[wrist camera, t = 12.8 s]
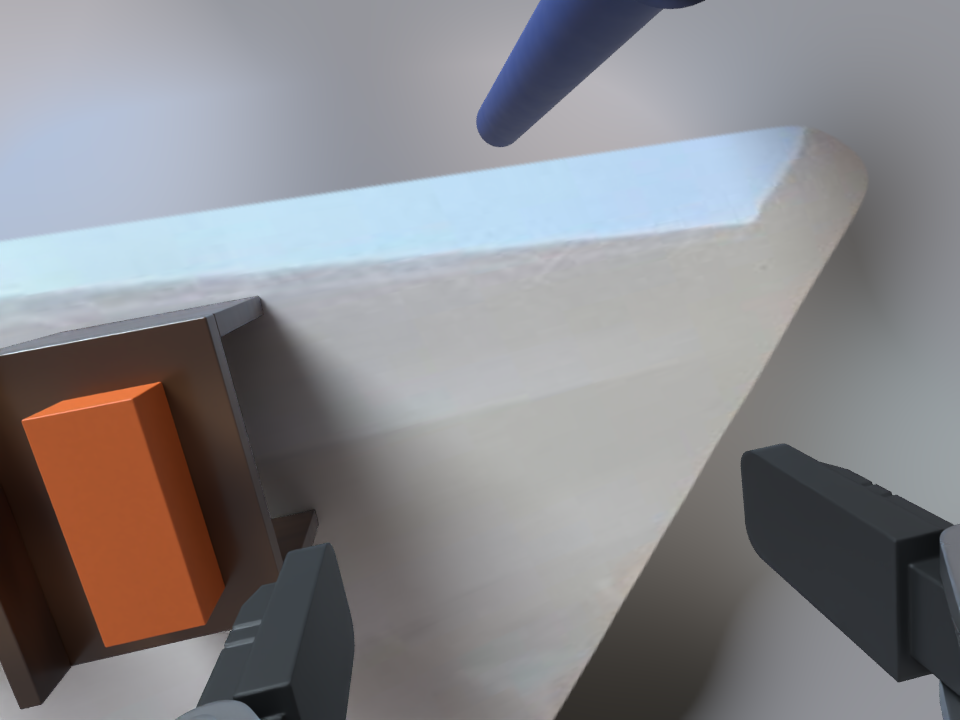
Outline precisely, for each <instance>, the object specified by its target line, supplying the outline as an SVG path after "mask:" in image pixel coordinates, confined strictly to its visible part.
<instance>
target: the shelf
mask: <svg viewBox="0 0 960 720" xmlns="http://www.w3.org/2000/svg"><path fill="white" fill-rule="evenodd" d="M263 314H264V313H263V309H262V305H261V302H260V298H259V296H255V297H250V298H244V299H239V300H233V301H228V302H222V303H217V304H212V305H206V306H201V307H195V308H190V309H184V310H179V311H174V312H168V313H163V314H157V315H152V316H146V317H141V318H136V319H130V320H125V321H119V322H114V323H109V324H103V325H98V326H92V327H87V328H81V329H76V330H71V331H65V332H60V333H56V334H53V335H49V336H45V337H42V338H38V339H34V340H31V341H27V342H23V343H20V344H16V345H12V346H9V347H5V348H1V349H0V662H1V665H2V667H3V669H4V672H5V674H6V676H7V679H8V681H9V684H10V686H11V688H12V691H13V693H14V696H15V698H16V700H17V703H18V705H19V707H20V709H25V708H29V707H34V706H38V705H41V704H43V703H44V701H45V700H46V699H47V697H48V696H49V695H50V694H51V692H52V691H53V690H54V688H55V687H56V686H57V685H58V683H59V682H60V681H61V680H62V678H63V677H64V676H65V674H66V673H67V672H68V671H69V669H70V668H71V666H74V665H79V664H83V663H87V662H92V661H96V660H100V659H105V658H109V657H113V656H118V655H122V654H127V653H131V652H135V651H140V650H144V649H148V648H153V647H157V646H161V645H166V644H170V643H175V642H179V641H183V640H188V639H192V638H196V637H201V636H205V635H209V634H214V633H218V632H223V631H227V630H231V629H233V628H232V627H233V624H234V622H235V620H236V618H237V616H238V613H239V611H240V609H241V607H242V605H243V604H244V603H245V602H246V601H247V600H248V599H249V598H250V597H251V596H252V595H253V594H254V593H255V592H256V591H257V590H258V589H259V588H260V587H261V586H262V585H265V584H270V583H274V582H276V581H277V579H278V576H279V573H280V571H281V568H282V565H283V563H284V560H285V558H286V555H287V553H288V552H289V551H292V550H297V549H301V548H306V547H310V546H312V544H313V541H314V538H315V535H316V532H317V528H318V525H319V524H318V521H317V517H316V513H315V510H311V511H306V512H302V513H297V514H293V515H288V516H283V517H279V518H274V519H271V517H270V513H269V510H268V506H267V503H266V499H265V496H264V492H263V488H262V485H261V481H260V478H259V474H258V471H257V467H256V463H255V460H254V456H253V453H252V449H251V446H250V442H249V439H248V435H247V431H246V428H245V424H244V421H243V417H242V414H241V410H240V406H239V403H238V399H237V396H236V392H235V389H234V385H233V381H232V378H231V374H230V371H229V367H228V364H227V360H226V356H225V353H224V349H223V346H222V342H221V339H220V337H222V336H224V335H226V334H228V333H229V332H231V331H233V330H235V329H237V328H239V327H241V326H243V325H245V324H246V323H248V322H250V321H252V320H254V319H256V318H258V317H260V316H261V315H263ZM157 382H162V385H163V388H164V391H165V395H166V398H167V401H168V404H169V408H170V411H171V414H172V417H173V420H174V424H175V427H176V430H177V433H178V437H179V440H180V443H181V446H182V449H183V453H184V456H185V459H186V462H187V466H188V469H189V472H190V475H191V479H192V482H193V485H194V488H195V491H196V495H197V498H198V501H199V504H200V508H201V511H202V514H203V517H204V520H205V524H206V527H207V530H208V533H209V537H210V540H211V543H212V546H213V550H214V553H215V556H216V559H217V562H218V566H219V569H220V572H221V575H222V579H223V582H224V585H225V589H224V591H223V593H222V595H221V596H220V598H219V600H218V602H217V604H216V606H215V608H214V610H213V612H212V614H211V616H210V618H209V620H208V621H207V623H206V625H203V626H199V627H194V628H190V629H185V630H181V631H177V632H172V633H168V634H164V635H159V636H155V637H151V638H146V639H142V640H137V641H133V642H129V643H124V644H120V645H116V646H111V647H107V648H106V647H105V645H104V642H103V640H102V637H101V634H100V632H99V629H98V626H97V623H96V621H95V618H94V615H93V613H92V610H91V607H90V605H89V602H88V599H87V597H86V594H85V591H84V588H83V586H82V583H81V580H80V578H79V575H78V572H77V570H76V567H75V564H74V562H73V559H72V556H71V553H70V551H69V548H68V545H67V543H66V540H65V537H64V535H63V532H62V529H61V527H60V524H59V521H58V518H57V516H56V513H55V510H54V508H53V505H52V502H51V500H50V497H49V494H48V492H47V489H46V486H45V483H44V481H43V478H42V475H41V473H40V470H39V467H38V465H37V462H36V459H35V457H34V454H33V451H32V448H31V446H30V443H29V440H28V438H27V435H26V432H25V430H24V427H23V424H22V420H23V419H25V418H27V417H29V416H32V415H34V414H36V413H38V412H40V411H42V410H44V409H46V408H49V407H51V406H53V405H55V404H57V403H59V402H61V401H64V400H69V399H74V398H80V397H85V396H90V395H95V394H100V393H105V392H110V391H115V390H121V389H126V388H131V387H136V386H141V385H146V384H151V383H157Z"/></svg>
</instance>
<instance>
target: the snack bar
mask: <svg viewBox="0 0 960 720" xmlns="http://www.w3.org/2000/svg"><path fill="white" fill-rule="evenodd" d="M22 424H23V427H24V430H25V432H26V435H27V438H28V440H29V443H30V446H31V448H32V451H33V454H34V457H35V459H36V462H37V465H38V467H39V470H40V473H41V475H42V478H43V481H44V483H45V486H46V489H47V492H48V494H49V497H50V500H51V502H52V505H53V508H54V510H55V513H56V516H57V518H58V521H59V524H60V527H61V529H62V532H63V535H64V537H65V540H66V543H67V545H68V548H69V551H70V553H71V556H72V559H73V562H74V564H75V567H76V570H77V572H78V575H79V578H80V580H81V583H82V586H83V588H84V591H85V594H86V597H87V599H88V602H89V605H90V607H91V610H92V613H93V615H94V618H95V621H96V623H97V626H98V629H99V632H100V634H101V637H102V640H103V642H104V645H105V647H106V648H107V647H111V646H116V645H120V644H124V643H129V642H133V641H137V640H142V639H146V638H151V637H155V636H159V635H164V634H168V633H172V632H177V631H181V630H185V629H190V628H194V627H199V626H203V625H206V623H207V621H208V620H209V618H210V616H211V614H212V612H213V610H214V608H215V606H216V604H217V602H218V600H219V598H220V596H221V595H222V593H223V591H224V589H225V585H224V582H223V579H222V575H221V572H220V569H219V566H218V562H217V559H216V556H215V553H214V550H213V546H212V543H211V540H210V537H209V533H208V530H207V527H206V524H205V520H204V517H203V514H202V511H201V508H200V504H199V501H198V498H197V495H196V491H195V488H194V485H193V482H192V479H191V475H190V472H189V469H188V466H187V462H186V459H185V456H184V453H183V449H182V446H181V443H180V440H179V437H178V433H177V430H176V427H175V424H174V420H173V417H172V414H171V411H170V408H169V404H168V401H167V398H166V395H165V391H164V388H163V385H162V382H157V383H151V384H146V385H141V386H136V387H131V388H126V389H121V390H115V391H110V392H105V393H100V394H95V395H90V396H85V397H80V398H74V399H69V400H64V401H61V402H59V403H57V404H55V405H53V406H51V407H49V408H46V409H44V410H42V411H40V412H38V413H36V414H34V415H32V416H29V417H27V418H25V419H23V420H22Z"/></svg>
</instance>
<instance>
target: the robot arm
mask: <svg viewBox="0 0 960 720" xmlns="http://www.w3.org/2000/svg"><path fill="white" fill-rule="evenodd" d="M741 475H742V488H743V500H744V511H745V524H746V530H747V534H748V537H749V540H750V542H751V544H752V546H753V548H754V550H755V551H756V553H757V554H758V555H759V557H760V558H761V559H762V560H764V561H765V562H766V563H767V564H768V565H769V566H770V567H771V568H772V569H773V570H775V571H776V572H777V573H778V574H779V575H780V576H781V577H782V578H784V580H786V581H787V582H788V583H789V584H790V585H791V586H792V587H793V588H794V589H796V590H797V591H798V592H799V593H800V594H801V595H802V596H803V597H804V598H805V599H807V600H808V601H809V602H810V603H811V604H812V605H813V606H814V607H815V608H817V609H818V610H819V611H820V612H821V613H822V614H823V615H825V617H826V618H828V619H829V620H830V621H831V622H832V623H833V624H834V625H835V626H836V627H838V628H839V629H840V630H841V631H842V632H843V633H844V634H845V635H846V636H847V637H849V638H850V639H851V640H852V641H853V642H854V643H855V644H856V645H857V646H859V647H860V648H861V649H862V650H863V651H864V652H865V653H866V654H867V655H868V656H870V657H871V658H872V659H873V660H874V661H875V662H876V663H877V664H878V665H880V666H881V667H882V668H883V669H884V670H885V671H886V672H887V673H888V674H889V675H891V676H892V677H893V678H894V679H895V680H896V681H897V682H902V681H906V680H910V679H914V678H917V677H921V676H925V675H929V674H934V675H935V676H936V677H937V678H938V679H940V683H939V687H940V689H939V690H940V692H939V693H940V694H939V697H940V706H941V710H942V716H943V720H960V524H957V525H953V524H951V523H949V522H947V521H945V520H943V519H942V518H940V517H938V516H936V515H934V514H932V513H930V512H928V511H926V510H925V509H922V508H921V507H919V506H917V505H915V504H913V503H911V502H909V501H907V500H905V499H904V498H902V497H899V496H898V495H892V493H891V492H890V491H888V490H886V489H885V488H882V487H881V486H879V485H877V484H876V485H873V484H872V482H871V481H869V480H867V479H865V478H864V477H862V476H860V475H858V474H856V473H854V472H852V471H850V470H848V469H844V468H841V467H837V466H833V465H829V464H826V463H822V462H819V461H817V460H815V459H813V458H812V457H810V456H808V455H806V454H804V453H802V452H800V451H799V450H797V449H795V448H793V447H791V446H789V445H787V444H778V445H773V446H769V447H764V448H759V449H755V450H750V451H746V452H745V453H744V454H743V455H742V458H741ZM232 628H233V631H230V633H229V636H228V638H227V640H226V642H225V644H224V646H225V649H222V651H221V653H220V656H219V658H218V660H217V662H216V664H215V667H214V669H213V671H212V673H211V676H210V678H209V680H208V682H207V684H206V687H205V689H204V691H203V693H202V696H201V698H200V700H199V702H198V704H197V707H196V708H195V709H193V710H191V711H189V712H187V713H185V714H183V715H182V716H180V717H178V718H177V719H175V720H346V713H347V706H348V698H349V690H350V682H351V674H352V667H353V659H354V647H355V644H354V630H353V623H352V617H351V613H350V609H349V605H348V601H347V598H346V594H345V590H344V586H343V582H342V578H341V574H340V570H339V566H338V562H337V559H336V555H335V552H334V549H333V547H332V545H331V544H330V543H324V544H319V545H315V546H310V547H306V548H301V549H297V550H292V551H289V552H288V553H287V555H286V558H285V560H284V563H283V565H282V568H281V571H280V573H279V576H278V579H277V581H276V582H274V583H270V584H265V585H262V586H261V587H260V588H259V589H258V590H257V591H256V592H255V593H254V594H253V595H252V596H251V597H250V598H249V599H248V600H247V601H246V602H245V603H244V604H243V605H242V607H241V609H240V611H239V613H238V616H237V618H236V620H235V622H234V624H233V627H232Z"/></svg>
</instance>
